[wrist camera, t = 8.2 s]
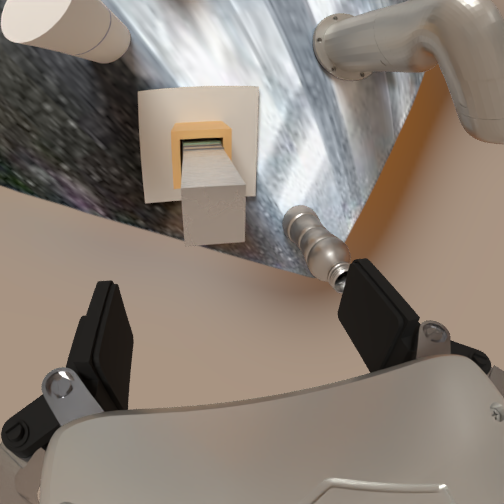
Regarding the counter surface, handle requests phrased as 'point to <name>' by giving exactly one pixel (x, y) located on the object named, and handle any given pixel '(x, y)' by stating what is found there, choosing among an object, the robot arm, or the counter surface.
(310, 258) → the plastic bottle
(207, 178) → the steel column
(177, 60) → the counter surface
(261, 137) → the counter surface
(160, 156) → the stand base
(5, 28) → the cylindrical container
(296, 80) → the counter surface
